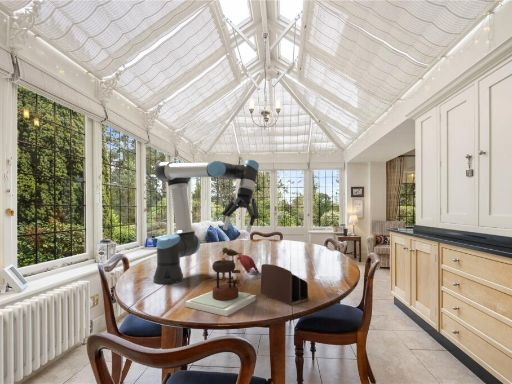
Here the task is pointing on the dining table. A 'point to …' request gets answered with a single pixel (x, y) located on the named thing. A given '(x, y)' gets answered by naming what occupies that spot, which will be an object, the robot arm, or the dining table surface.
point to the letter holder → (283, 285)
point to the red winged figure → (247, 263)
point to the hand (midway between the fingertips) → (236, 230)
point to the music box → (225, 266)
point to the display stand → (220, 303)
